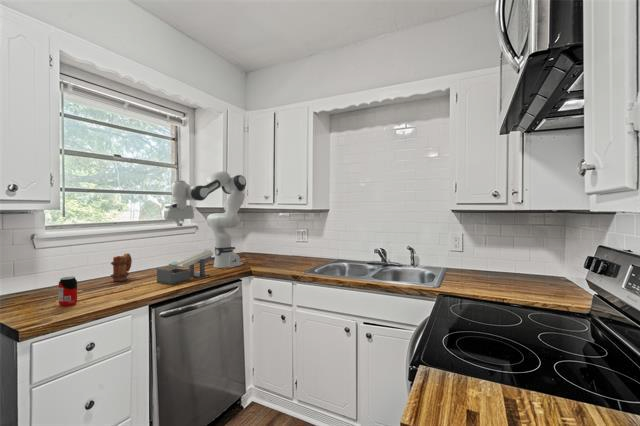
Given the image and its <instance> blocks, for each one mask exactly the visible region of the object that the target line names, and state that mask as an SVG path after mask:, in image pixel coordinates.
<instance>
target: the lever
mask: <svg viewBox="0 0 640 426" xmlns="http://www.w3.org/2000/svg"><path fill="white" fill-rule="evenodd" d="M213 254H214V252H213V251H212V249H204V251H202V252H199V253H196V254H194V255H191V256H189V257H187V258H184V259H183V260H179V261H172V262H169V263H168V266H169V267H170V266H171V267H175V268H179V269H185V268H189V266H190V265H192V264H194V265H195V264H197V263H198V264H200V259H205V264H206V263H209V262H211V261H212V260H213V257H212V256H214V255H213Z"/></svg>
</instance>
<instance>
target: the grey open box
mask: <svg viewBox="0 0 640 426" xmlns="http://www.w3.org/2000/svg"><path fill="white" fill-rule="evenodd" d="M172 273H173V274H172ZM185 281H186V282H189V281H191V277H190V270H189V269H185V268H179V267H175V268H171V269H165V268H156V282H158V283H159V284H162V285H163V284H164V285H169V286H172V285H177V283H178V284H181V283H180V282H182V283H186V282H185Z"/></svg>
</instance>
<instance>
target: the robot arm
mask: <svg viewBox="0 0 640 426" xmlns="http://www.w3.org/2000/svg"><path fill="white" fill-rule="evenodd" d="M246 186H247V179H246V178H245V176H243V175H242V174H237V175H235V176H233V177H231V175H230V174H229V173H228V172H227V171H225V170H224V171H218V172H214V173H213V174H211V175H209V176H208V177H207V178H206V184H205V185H190V184H188V182H186V181H185V180H175V181H174V182H172V185H171V195H172V198H171V202H170V203H167V204H164V212H163V219H164V220H165V221H170V220H171V221H173V220H174V221H175V223H176V226H177V227H183V226H184V225H183V224H184V221H185V220H190V219H191V220H192V219H194V218H195V214H194V207H193V206H192V205H190V204H187V201H200V202H202V201H204V200H206V199H207V197H208V196H209V195H210V194H212V193H213V192H215V191H216V190H218V189H220V188H221V190H222V191H223V192H224V194H226V195H230V196H229V197H228V199H227V200H226V201H225V203H224V204H223V210H224V212H214V213H213V212H212V213H211V214H209V215H208V216H207V217H206V223H207V226H209V227H210V229H211V230H212V232H213V234H214V240H215V241H214V242H215V243H214V245H215V246H214V262H213V266H212V267H213V268H216V269H217V268H220V269H223V268H235V267H237V266H241V265H244V262H242V261H241V257H240V255H239V254H237V253H236V252H234V250H236V246H232V236H231V234H230V233H228V232H227V230H226V229H233V228H236V227H238V226H239V225H240V222H241V221H240V220H241V218H240V216H239V215H238V212H239V210H240V209H241V207H242V204H244V200H245V193H244V192H243V191H245V189H246Z"/></svg>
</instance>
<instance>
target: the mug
mask: <svg viewBox="0 0 640 426" xmlns="http://www.w3.org/2000/svg"><path fill="white" fill-rule="evenodd" d="M132 262H133V260H132V256H131V254H130V253H124V254H123V255H121V256H120V255H119V256H118V255H117V256H114V257H113V258H112V262H110V265H112V268H113V269H112V272H113V273H112V274H111V275H110V278H112V279H113V281H115V282H123V281H126V280H127V279H128V276H129V275H130V273H129V272H130V269H131V268H132V264H133V263H132Z"/></svg>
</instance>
